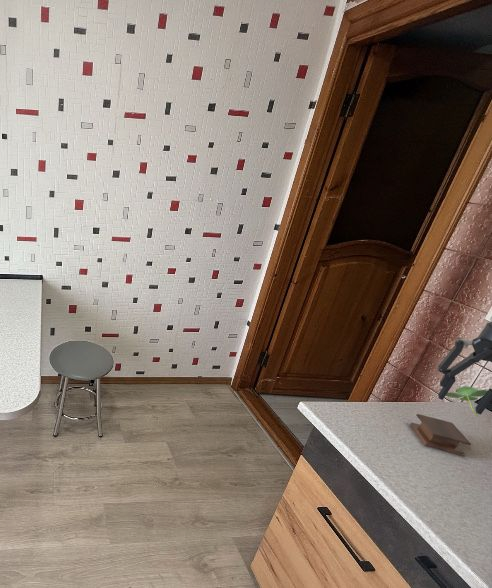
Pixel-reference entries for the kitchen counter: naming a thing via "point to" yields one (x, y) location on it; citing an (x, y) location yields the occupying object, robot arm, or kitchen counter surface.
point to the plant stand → (439, 434)
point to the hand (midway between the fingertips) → (458, 403)
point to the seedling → (467, 394)
